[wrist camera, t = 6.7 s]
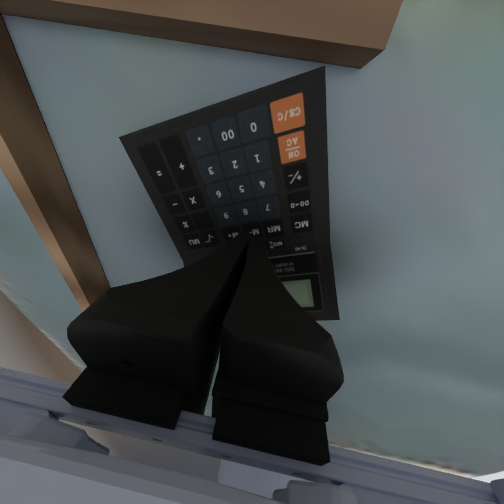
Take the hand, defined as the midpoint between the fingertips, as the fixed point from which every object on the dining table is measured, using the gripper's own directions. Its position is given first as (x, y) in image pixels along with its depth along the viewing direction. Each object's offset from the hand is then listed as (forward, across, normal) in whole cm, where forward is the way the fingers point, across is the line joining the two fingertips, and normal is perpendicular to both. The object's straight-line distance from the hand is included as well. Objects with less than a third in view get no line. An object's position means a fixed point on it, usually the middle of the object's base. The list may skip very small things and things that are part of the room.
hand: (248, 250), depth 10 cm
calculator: (+2, +1, -1) cm, 2 cm away
